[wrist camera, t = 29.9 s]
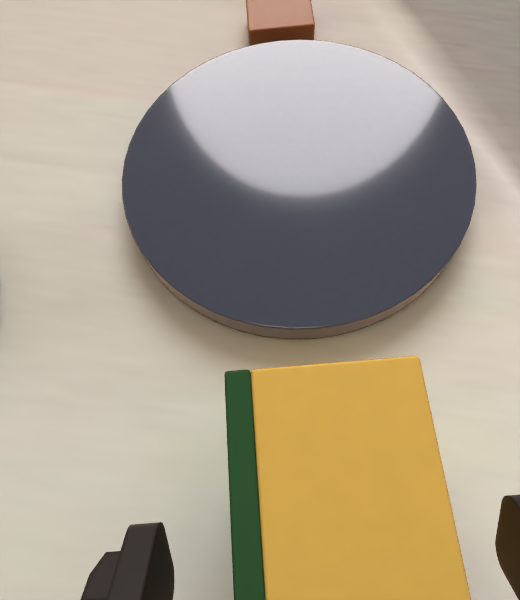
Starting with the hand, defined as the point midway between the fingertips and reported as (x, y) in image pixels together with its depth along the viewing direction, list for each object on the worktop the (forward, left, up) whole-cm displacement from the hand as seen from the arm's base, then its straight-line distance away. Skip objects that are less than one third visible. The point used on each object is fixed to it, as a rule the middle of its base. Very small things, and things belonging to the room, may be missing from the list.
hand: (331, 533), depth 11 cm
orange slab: (+1, +28, -8) cm, 29 cm away
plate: (+1, +16, -8) cm, 18 cm away
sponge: (0, +1, -8) cm, 8 cm away
